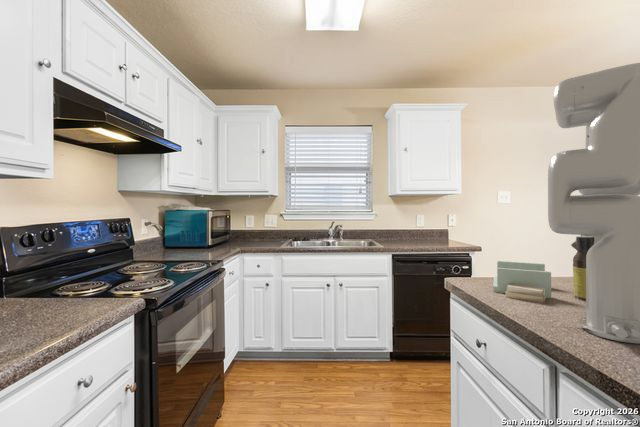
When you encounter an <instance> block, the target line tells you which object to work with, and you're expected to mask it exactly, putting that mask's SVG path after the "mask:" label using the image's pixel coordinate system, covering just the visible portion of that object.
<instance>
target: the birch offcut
mask: <svg viewBox="0 0 640 427" xmlns="http://www.w3.org/2000/svg"><path fill="white" fill-rule="evenodd" d="M504 294H505V298H509V299H516V300H523V301H529V302H535V303H542V304H544V302H545V300H546V298H545V295H544V296H543V297H536V296H530V295H524V294H518V293H512V292H507V291H506V292H505V293H504Z"/></svg>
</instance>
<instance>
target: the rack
mask: <svg viewBox="0 0 640 427" xmlns="http://www.w3.org/2000/svg"><path fill="white" fill-rule="evenodd" d="M496 261H497V264H496V265H497V266H496V267H497V268H496V269H497V270H496V271H497V273H496V275H497V276H493V283H492V284H493V285H492V287H493V288H492V291H493V293H502V294H505V292H506V291H507V286H508V285H509V284H510V283H513V284H519V285H526V286H533V287H540V288H545V299H546V298H547V299H552V272H551V271H546V266H545V263H538V262H519V261H509V260H508V261H506V260H505V261H503V260H496Z"/></svg>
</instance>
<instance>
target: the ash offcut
mask: <svg viewBox="0 0 640 427" xmlns="http://www.w3.org/2000/svg"><path fill="white" fill-rule="evenodd" d="M507 292H512V293H518V294H524V295H530V296H536V297H543V296H544V295H545V288H540V287H533V286H526V285H519V284H513V283H510V284H509V285H508V286H507Z"/></svg>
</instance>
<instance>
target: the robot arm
mask: <svg viewBox="0 0 640 427" xmlns="http://www.w3.org/2000/svg"><path fill="white" fill-rule="evenodd" d="M552 100H553V107H554V113H555V119H556V122H557V124H558V126H559V127H560V128H562V129H572V128H578V127H585V148H579V149H571V150H564V151H560V152H558V153H555V154H554V155H553V156H552V157H551V159H550V161H549V163H548V170H547V220H548V225H549V228H550V229H551V231H552V232H554V233H556V234H558V235H560V234H561V235H571V236H572V235H573V236H574V235H575V236H576V235H577V236H592V237H594V240H595V241H594V245H593V246H592V247H591V248H590V249H589V250H588V252H587V255H586V301H585V302H586V317H582V318H579V319H578V323H579V324H580V325H581V326H583V327H580V329H582V330H583V331H585V332H587V333H589V334H592V335H594V336H596V337H597V336H598V337H600V338H604V339H606V340H611V341H616V342H622V343H629V344H640V62H634V63H630V64H625V65H620V66H616V67H612V68H607V69H603V70H599V71H594V72H591V73H586V74H583V75H577V76H573V77H569V78H566V79H563V80H562V81H560V82H559V83H557V85H556V86H555V88H554V91H553V98H552ZM575 191H578V193H580V194H579V195H572V193H574V192H575ZM570 246H571V247H572V248H573V249H575V251H577V241H576V240H575V241H573V242H572V243H571V244H570Z"/></svg>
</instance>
